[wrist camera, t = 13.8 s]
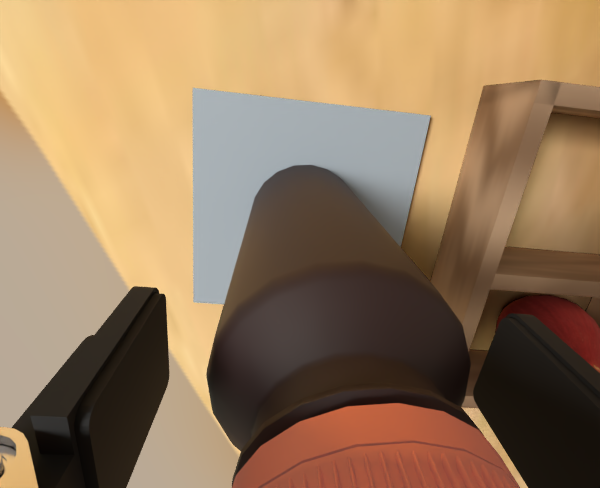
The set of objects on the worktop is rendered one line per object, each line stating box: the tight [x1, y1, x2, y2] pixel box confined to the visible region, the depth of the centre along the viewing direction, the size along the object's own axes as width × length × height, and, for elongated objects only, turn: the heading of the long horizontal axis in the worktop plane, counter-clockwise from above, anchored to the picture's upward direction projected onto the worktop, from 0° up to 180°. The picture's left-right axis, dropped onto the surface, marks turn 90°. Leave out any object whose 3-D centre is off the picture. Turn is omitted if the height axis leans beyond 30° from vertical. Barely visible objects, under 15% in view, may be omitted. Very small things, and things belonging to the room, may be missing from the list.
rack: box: [431, 80, 600, 408], centre depth 23 cm, size 20×14×5 cm
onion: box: [495, 295, 600, 373], centre depth 23 cm, size 6×6×8 cm
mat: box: [193, 88, 431, 304], centre depth 23 cm, size 14×14×1 cm
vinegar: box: [207, 165, 520, 488], centre depth 13 cm, size 7×7×20 cm
